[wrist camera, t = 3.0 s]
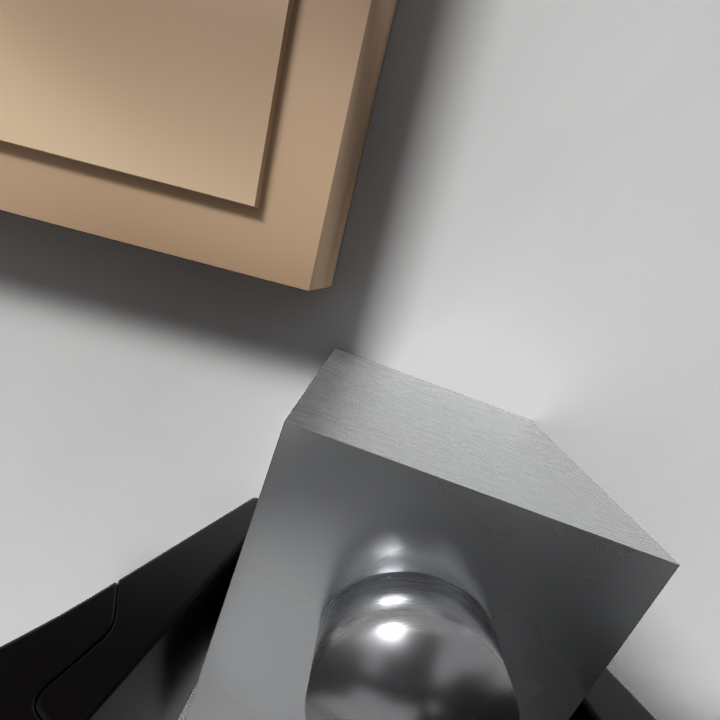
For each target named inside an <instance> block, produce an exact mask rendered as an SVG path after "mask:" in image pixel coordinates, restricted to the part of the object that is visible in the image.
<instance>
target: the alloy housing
mask: <svg viewBox="0 0 720 720" xmlns="http://www.w3.org/2000/svg"><path fill="white" fill-rule="evenodd" d="M678 567H679V564H678V563H677V562H676V561H675V560H674V559H673V558H672V557H671V556H670V555H669V554H668V553H667V552H666V551H665V550H664V549H663V548H662V547H661V546H660V545H659V544H658V543H656V542H655V541H654V540H653V539H652V538H651V537H650V536H649V535H648V534H647V533H646V532H645V531H644V530H643V529H642V528H641V527H640V526H639V525H638V524H637V523H636V522H635V521H634V520H633V519H632V518H631V517H630V516H629V515H628V514H627V513H626V512H625V511H624V510H623V509H622V508H621V507H619V506H618V505H617V504H616V503H615V502H614V501H613V500H612V499H611V498H610V497H609V496H608V495H607V494H606V493H605V492H604V491H603V490H602V489H601V488H600V487H599V486H598V485H597V484H596V483H595V482H594V481H593V480H592V479H591V478H590V477H589V476H588V475H587V474H586V473H585V472H583V471H582V470H581V469H580V468H579V467H578V466H577V465H576V464H575V463H574V462H573V461H572V460H571V459H570V458H569V457H568V456H567V455H566V454H565V453H564V452H563V451H562V450H561V449H560V448H559V447H558V446H557V445H556V444H555V443H554V442H553V441H552V440H551V439H550V438H549V437H548V436H546V435H545V434H544V433H543V432H542V431H541V430H540V429H539V428H538V427H537V426H536V425H535V424H534V423H533V422H532V421H531V420H529V419H526V418H524V417H521V416H518V415H516V414H513V413H510V412H507V411H505V410H502V409H499V408H497V407H494V406H491V405H488V404H486V403H483V402H480V401H478V400H475V399H472V398H470V397H467V396H464V395H461V394H459V393H456V392H453V391H451V390H448V389H445V388H442V387H440V386H437V385H434V384H432V383H429V382H426V381H424V380H421V379H418V378H415V377H413V376H410V375H407V374H405V373H402V372H399V371H397V370H394V369H391V368H388V367H386V366H383V365H380V364H378V363H375V362H372V361H369V360H367V359H364V358H361V357H359V356H356V355H353V354H351V353H348V352H345V351H342V350H340V349H337V348H335V349H334V350H333V351H332V353H331V354H330V356H329V357H328V359H327V360H326V362H325V363H324V365H323V366H322V367H321V369H320V370H319V372H318V373H317V375H316V376H315V378H314V379H313V381H312V382H311V383H310V385H309V386H308V388H307V389H306V391H305V392H304V394H303V395H302V397H301V398H300V399H299V401H298V402H297V404H296V405H295V407H294V408H293V410H292V411H291V413H290V414H289V415H288V417H287V418H286V420H285V422H284V425H283V428H282V431H281V433H280V436H279V439H278V442H277V445H276V448H275V451H274V454H273V457H272V460H271V463H270V466H269V469H268V472H267V475H266V478H265V481H264V484H263V487H262V490H261V493H260V496H259V499H258V502H257V505H256V508H255V511H254V514H253V517H252V520H251V523H250V526H249V529H248V532H247V535H246V538H245V541H244V544H243V547H242V550H241V553H240V556H239V559H238V562H237V565H236V568H235V571H234V574H233V577H232V580H231V583H230V586H229V589H228V592H227V595H226V598H225V601H224V604H223V607H222V610H221V613H220V616H219V619H218V622H217V625H216V628H215V631H214V634H213V637H212V640H211V643H210V646H209V649H208V652H207V655H206V658H205V661H204V664H203V667H202V670H201V673H200V676H199V679H198V682H197V685H196V688H195V691H194V694H193V697H192V700H191V703H190V706H189V709H188V712H187V715H186V718H185V720H569V718H570V717H571V715H572V714H573V713H574V711H575V710H576V708H577V707H578V706H579V704H580V703H581V702H582V700H583V699H584V697H585V696H586V695H587V693H588V692H589V690H590V689H591V688H592V686H593V685H594V683H595V682H596V681H597V679H598V678H599V677H600V675H601V674H602V672H603V671H604V670H605V668H606V667H607V665H608V664H609V663H610V661H611V660H612V658H613V657H614V656H615V654H616V653H617V652H618V650H619V649H620V647H621V646H622V645H623V643H624V642H625V640H626V639H627V638H628V636H629V635H630V633H631V632H632V631H633V629H634V628H635V627H636V625H637V624H638V622H639V621H640V620H641V618H642V617H643V615H644V614H645V613H646V611H647V610H648V608H649V607H650V606H651V604H652V603H653V601H654V600H655V599H656V597H657V596H658V595H659V593H660V592H661V590H662V589H663V588H664V586H665V585H666V583H667V582H668V581H669V579H670V578H671V576H672V575H673V574H674V572H675V571H676V570H677V568H678Z"/></svg>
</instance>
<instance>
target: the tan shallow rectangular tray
mask: <svg viewBox="0 0 720 720" xmlns="http://www.w3.org/2000/svg"><path fill="white" fill-rule="evenodd" d="M396 4H397V0H0V210H3V211H7V212H11V213H14V214H18V215H22V216H26V217H30V218H33V219H37V220H41V221H45V222H49V223H52V224H56V225H60V226H64V227H68V228H71V229H75V230H79V231H83V232H87V233H90V234H94V235H98V236H102V237H106V238H109V239H113V240H117V241H121V242H125V243H128V244H132V245H136V246H140V247H144V248H147V249H151V250H155V251H159V252H163V253H166V254H170V255H174V256H178V257H182V258H185V259H189V260H193V261H197V262H201V263H204V264H208V265H212V266H216V267H220V268H223V269H227V270H231V271H235V272H239V273H242V274H246V275H250V276H254V277H258V278H261V279H265V280H269V281H273V282H277V283H280V284H284V285H288V286H292V287H296V288H299V289H303V290H307V291H311V290H317V289H322V288H327V287H331V286H332V282H333V278H334V273H335V269H336V265H337V260H338V256H339V252H340V247H341V243H342V239H343V234H344V230H345V226H346V221H347V217H348V212H349V208H350V204H351V199H352V195H353V191H354V186H355V182H356V178H357V173H358V169H359V165H360V160H361V156H362V152H363V147H364V143H365V139H366V134H367V130H368V126H369V121H370V117H371V113H372V108H373V104H374V100H375V95H376V91H377V87H378V82H379V78H380V73H381V69H382V65H383V60H384V56H385V52H386V47H387V43H388V39H389V34H390V30H391V26H392V21H393V17H394V13H395V8H396Z"/></svg>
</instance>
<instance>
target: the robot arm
mask: <svg viewBox="0 0 720 720" xmlns="http://www.w3.org/2000/svg"><path fill="white" fill-rule="evenodd" d="M258 499H259V498H252V499H251V500H249V501H247V502H246V503H244V504H242V505H241V506H239V507H238V508H236V509H234V510H233V511H231V512H229V513H228V514H226V515H225V516H223V517H221V518H220V519H218V520H216V521H215V522H213V523H211V524H210V525H208V526H207V527H205V528H203V529H202V530H200V531H198V532H197V533H195V534H194V535H192V536H190V537H189V538H187V539H185V540H184V541H182V542H180V543H179V544H177V545H176V546H174V547H172V548H171V549H169V550H167V551H166V552H164V553H163V554H161V555H159V556H158V557H156V558H154V559H153V560H151V561H149V562H148V563H146V564H145V565H143V566H141V567H140V568H138V569H136V570H135V571H133V572H132V573H130V574H128V575H127V576H125V577H123V578H122V579H120V580H119V581H118V585H117V583H113V584H112V585H110V586H108V587H107V588H105V589H104V590H102V591H100V592H99V593H97V594H95V595H94V596H92V597H90V598H89V599H87V600H85V601H83V602H82V603H80V604H78V605H77V606H75V607H73V608H71V609H70V610H68V611H66V612H65V613H63V614H61V615H60V616H58V617H56V618H54V619H52V620H50V621H48V622H47V623H45V624H43V625H41V626H39V627H37V628H35V629H33V630H32V631H30V632H28V633H26V634H24V635H22V636H20V637H19V638H17V639H15V640H13V641H11V642H9V643H7V644H5V645H3V646H1V647H0V720H178V718H179V716H180V714H181V712H182V710H183V708H184V706H185V704H186V702H187V701H188V699H189V697H190V695H191V693H192V691H193V689H194V687H195V685H196V683H197V681H198V679H199V676H200V673H201V670H202V667H203V664H204V661H205V658H206V655H207V652H208V649H209V646H210V643H211V640H212V637H213V634H214V631H215V628H216V625H217V622H218V619H219V616H220V613H221V610H222V607H223V604H224V601H225V598H226V595H227V592H228V589H229V586H230V583H231V580H232V577H233V574H234V571H235V568H236V565H237V562H238V559H239V556H240V553H241V550H242V547H243V544H244V541H245V538H246V535H247V532H248V529H249V526H250V523H251V520H252V517H253V514H254V511H255V508H256V505H257V502H258ZM569 720H656V719H655V718H654V717H653V716H652V715H651V714H650V713H649V712H648V711H647V710H646V709H645V708H644V707H643V706H642V705H641V704H640V703H639V701H638V700H637V699H636V698H635V697H634V696H633V695H632V694H631V693H630V692H629V691H628V690H627V689H626V688H625V687H624V686H623V685H622V684H621V683H620V682H619V681H618V680H617V679H616V678H615V677H614V675H613V674H612V673H611V672H610V671H609V670H608V669H607V668H605V670H604V671H603V672H602V674H601V675H600V677H599V678H598V679H597V681H596V682H595V683H594V685H593V686H592V688H591V689H590V690H589V692H588V693H587V695H586V696H585V697H584V699H583V700H582V702H581V703H580V704H579V706H578V707H577V708H576V710H575V711H574V713H573V714H572V715H571V717H570V718H569Z"/></svg>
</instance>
